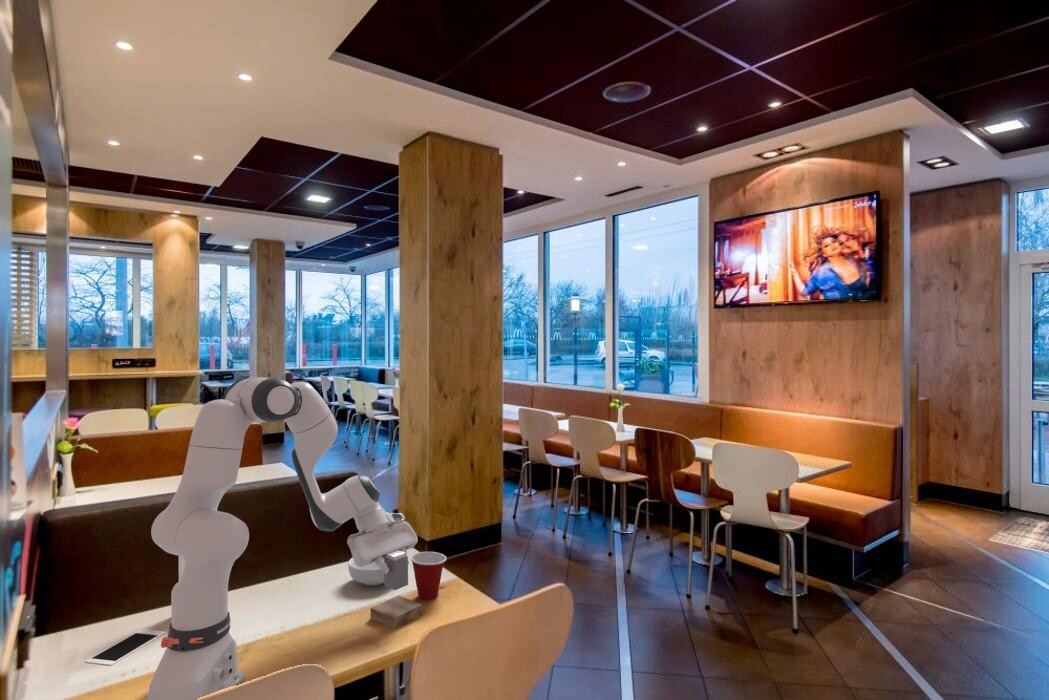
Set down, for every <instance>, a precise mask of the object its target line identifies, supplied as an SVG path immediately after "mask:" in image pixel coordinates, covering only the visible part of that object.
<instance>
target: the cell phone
mask: <svg viewBox="0 0 1049 700" xmlns="http://www.w3.org/2000/svg"><path fill="white" fill-rule="evenodd" d="M165 634H166V631H162V630H154V629H153V630H152V629H145V628H144V629H139V630H138V631H136V632H134V633H132V634H130V635H129V636H127V637H125V638H123V639H121V640H119V641H118V642H116V643H115V644H113V645H111V646H109V647H107V648H106V649H104V650H102V651H100V652H99V653H96V654H95V655H93V656H91V657H90V658H88V659H86V660H85V661H84V662H85V663H86V664H92V665H93V664H96V665H103V666H113V665H115V664H117V663H118V662H120V661H122V660H123V659H125V658H126V657H128V656H130V655H131V654H133V653H135V652H136V651H138V650H140V649H141V648H143V647H145V646H146V645H148V644H150V643H151V642H153V641H154V640H155V641H156V639H158V638H159V637H161V636H163V635H165Z"/></svg>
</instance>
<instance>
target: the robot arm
mask: <svg viewBox="0 0 1049 700" xmlns="http://www.w3.org/2000/svg"><path fill="white" fill-rule="evenodd" d="M281 421H284V422H285V424H286V425H287V427H288V429H289V430H290V432H291V433H292V435H293V438H294V448H293V449H292V451H291V459H292V460H291V461H292V463H293V467H294V469H295V470H294V471H295V473H296V475H297V478H298V481H299V483H300V486H301V489H302V491H303V494H304V496H305V499H306V502H307V504H308V507H309V512H310V518H311V520H312V523H313V524H314V525H315V527H316V528H317V529H318V530H319V531H324V532H334V531H335V530H336V529H338V528H340V527H341V526H342V525H344V523H345V522H348V521H349V520H350V519H354V522H355V526H356V528H357V530H358V532H356V533H352V534H350V535H349V536H348V537H347V539H346V543H347V546H348V547H349V549H350V552H351V556H352V558H353V559H354V561H355V564H356V565H357V566H359V567H362V566H365V565H368V564H370V563H373V562H375V564H376V565H377V566H378V567H380V568H381V569H383V571H384V573H385V574H387V573H390V572H391V571H392V568H391V566H390V564H388V565H387V564H386V563H385V562H383V559H384V558H385V557H386V554H388V553H391V552H393V551H396V550H399V551H402V552H405V553H406V556H408V550H411V549H413V548H414V547H415V546H416V545H417V543H418V535H417V534H416V532H415V530H414V529H413V527H412V526H411V524H410V523H409V522H407V521H405V520H406V517H405V515H404V514H403V513H401V512H399V513H398V512H397V513H395V512H386V510H385V509H384V507H382V506H381V504H380V502H379V499H380V496H381V493H380V492H379V491H378V489H377V487H376V484H375V483H374V480H373V479H372V478H371V476H368V475H364V474H356V475H353V476H351V477H349V478H347V479H346V480H345V481H344V482H342V483H341V484H340V485H338V486H336V487H334V488H332V489H331V490H329V491H328V492H324V493H322V492H321V490H320V487H319V484H318V482H317V480H316V477H315V474H314V471H315V467H316V466H317V464H318V463H319V461H320V460H321V458H322V457H323V456H324V455H325V454H326V453H327V452H328V451H329V450H330V448H331V447H332V446H333V443H335V441H336V439H337V435H338V431H339V427H338V424H337V420H336V418H335V416H334V414H333V412H332V410H331V409H330V407H329V406H328V404H327V403H326V401H325V399H324V398H323V397H322V396H321V394H320V393H319V392H318V391H317V390H316V389H315V387H314V386H313V385H311V384H310V383H309V382H307V381H295V382H292V383H289V382H288V381H286V380H284V379H281V378H277V377H271V378H270V377H264V376H253V377H243V378H240V379H237V380H236V381H234V382H232V384H231V385H229V386H228V387H227V389H226V391H225V392H224V394H222V396H221V397H220V399H214V400H211V401H208V402H206V403H205V404H204V405H202V407H201V408H200V411H199V413H198V415H197V418H196V421H195V423H194V425H193V428H192V432H191V436H190V438H189V439H190V440H189V445H188V450H187V454H186V459H185V463H184V464H185V465H184V469H183V472H182V476H181V479H180V482H179V485H178V487H177V489H176V492H175V494H174V496H173V498H172V499H171V501H170V503H169V504H168V506H166V508H165V509H164V510H162V511H161V512H160V513H159V514H158V515H157V516H156V517H155V518H154V520H153V523H152V525H151V528H150V529H151V532H150V534H151V535H150V536H151V539H152V541H153V542H154V544H156V545H157V546H158V547H159V548H161V550H163V551H164V552H166V553H167V554H171V555H175V556H178V557H179V556H181V557H183V558H184V561H185V567H184V572H183V576H182V578H181V580H180V581H179V580H178V582H176V583H175V584H174V586H173V587H172V590H171V595H170V596H171V598H170V599H171V600H170V601H171V606H170V607H171V610H170V611H171V622H170V624H169V628H168V631H167V635H166V637H165V636H164V637H163V638H161V641H160V648H163V649H164V648H166V649H165V651H164V653H163V655H162V657H161V658H160V661H159V663H158V666H157V667H156V670H155V672H154V674H153V676H152V679H151V681H150V683H149V685H148V686H149V687H148V693H147V695H146V697H145V698H144V700H197V699H198V698H200V697H203V696H206V695H209V694H211V693H214V692H217V691H219V690H222V689H225V688H228V687H231V686H234V685H237V684H238V685H239V684H240V683H242V682H243V681H244V680H245V678H246V677H245V673H244V672H243V671H242V670H240V669H239V661H238V657H239V656H238V649H237V642H236V641H235V639H234V638H233V637H232V635H231V633H230V629H231V616H230V615H231V614H230V611H229V610H228V609H229V606H228V605H229V604H228V603H229V602H228V600H229V599H228V597H229V595H228V594H229V579H230V575H231V572H232V567H233V566H234V563H235V561H236V560H237V559H239V558H240V557H241V556H242V554H244V551H246V548H247V546H248V543H249V539H250V532H249V528H248V526H247V524H246V523H245V522H244V521H243V520H241V519H240V518H238V517H237V516H235V515H233V514H231V513H229V512H224V511H219V510H218V508H219V504H220V502H221V500H222V498H223V496H224V495H225V494H226V493H227V492H228V491H229V490H230V489H231V488H232V487H234V485H235V484H236V482H237V479H238V475H239V470H240V465H241V459H242V453H243V447H244V441H245V436H246V433H247V431H248V429H249V427H250V425H251V424H252V423H254V422H255V423H278V422H281ZM409 564H410V561H409V560H408V565H409ZM238 685H237V686H238Z"/></svg>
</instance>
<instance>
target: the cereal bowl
mask: <svg viewBox="0 0 1049 700" xmlns="http://www.w3.org/2000/svg"><path fill="white" fill-rule="evenodd" d="M383 562H384V559H383ZM348 572H349V575H350V577H351V578H352V579H353V580H354V581H356V582H357V583H359V584H364V585H365V586H369V585H371V586H370V587H374V586H373V585H377V586H381V585H384V584H383V583H384V571H383V569H381V568H380V567H378V566H377V565H376V564H375V562H373V563H370V564H368V565H365V566H362V567H359V566H357V565H356V564H355V561H354V559H353V557H351V558H350V559H349V561H348ZM380 584H381V585H380Z"/></svg>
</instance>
